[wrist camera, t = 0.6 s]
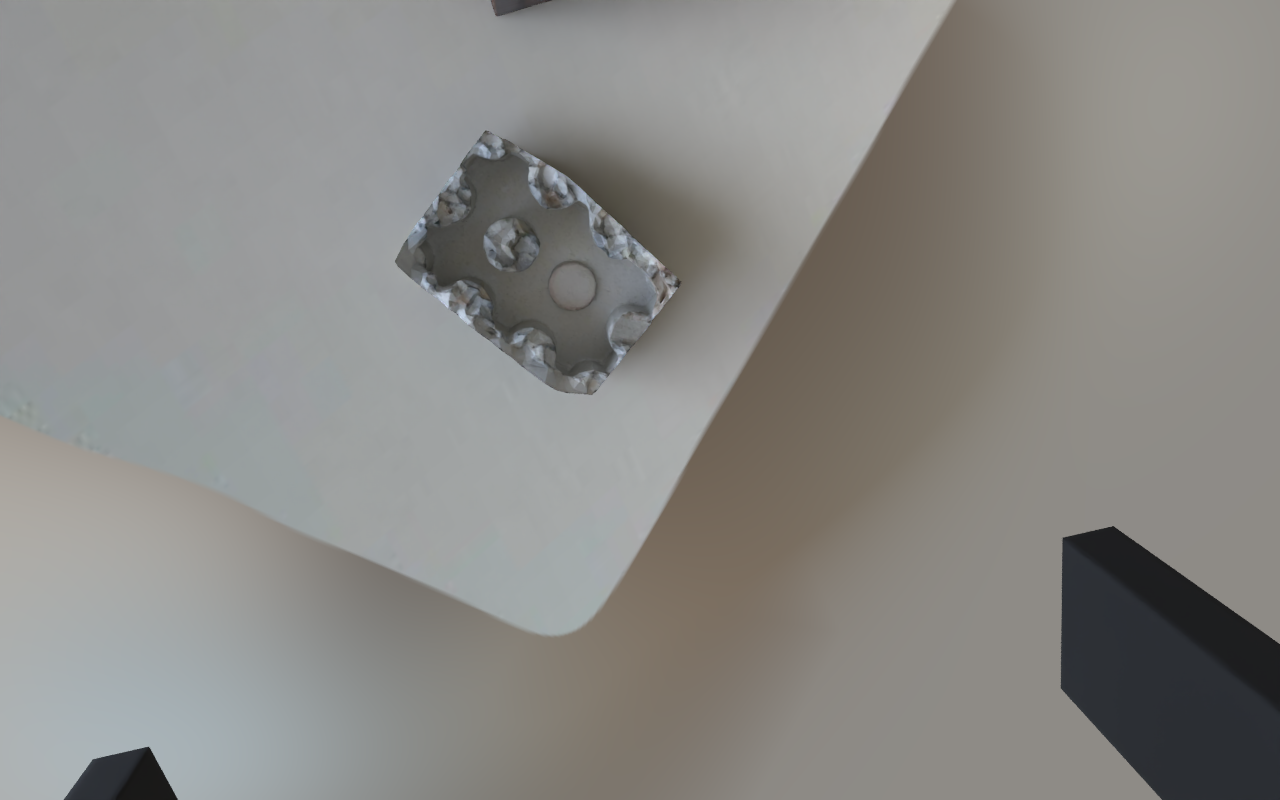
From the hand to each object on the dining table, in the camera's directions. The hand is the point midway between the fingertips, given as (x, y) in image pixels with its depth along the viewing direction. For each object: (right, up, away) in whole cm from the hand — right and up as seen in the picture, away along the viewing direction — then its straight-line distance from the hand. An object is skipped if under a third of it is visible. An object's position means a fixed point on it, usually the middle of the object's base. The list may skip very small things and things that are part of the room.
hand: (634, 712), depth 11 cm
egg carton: (-5, +11, +25) cm, 27 cm away
